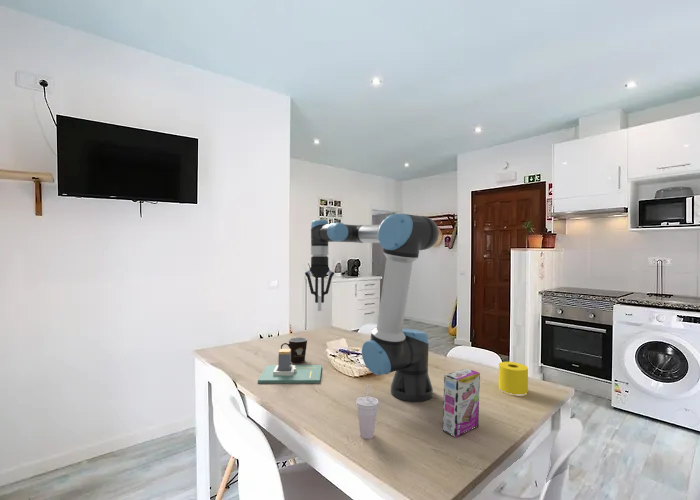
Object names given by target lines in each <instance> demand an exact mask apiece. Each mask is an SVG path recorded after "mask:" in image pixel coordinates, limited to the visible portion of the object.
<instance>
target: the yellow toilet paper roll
mask: <svg viewBox="0 0 700 500" xmlns="http://www.w3.org/2000/svg"><path fill="white" fill-rule="evenodd" d="M528 386H529V368H528V366H527V365H525V364H523V363H519V362H514V361H502V362H499V363H498V387H499V389H501V390H502V391H505V392H508V393H512V394H525V393H527V392H529V391H528V390H529V387H528ZM499 389H498V390H499Z"/></svg>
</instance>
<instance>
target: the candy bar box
mask: <svg viewBox="0 0 700 500" xmlns="http://www.w3.org/2000/svg"><path fill="white" fill-rule="evenodd" d="M443 378H444V379H443V405H442V409H443V410H442V431H443V430H444V431H446V432H448V433H449V434H448V433H447V434H448V435H450V434H452V435H453V436H455V437H454V438H458V437H460V436H462V435H463V434H462V433H464V432H466V431H468V430H470V431H472V430H473V429H472V428H474V427H476V426H478V427H479V423H480V422H479V417H480V413H479V412H480V387H481V386H480V382H481V380H480V379H481V373H480V372H478V371H475V370H473V369H470V368H464V369H460V370H457V371H453V372H451V373H446V374H443ZM471 429H472V430H471ZM444 431H443V432H444ZM446 432H445V433H446ZM468 432H469V431H468ZM466 433H467V432H466ZM461 434H462V435H461ZM464 434H465V433H464ZM452 435H451V436H452ZM459 435H460V436H459ZM453 436H452V437H453ZM457 436H458V437H457Z"/></svg>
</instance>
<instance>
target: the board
mask: <svg viewBox="0 0 700 500" xmlns="http://www.w3.org/2000/svg"><path fill="white" fill-rule="evenodd" d="M321 377H322V364H302V365H301V364H294V365H293V364H291V371H278V364H266V366H265V368H264V369H263V371H262V373H261V374H260V376H259V377H258V379H257V384H320V383H321Z"/></svg>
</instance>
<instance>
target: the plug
mask: <svg viewBox="0 0 700 500" xmlns="http://www.w3.org/2000/svg"><path fill="white" fill-rule="evenodd" d="M277 363H278V364H277V365H278V371H291V365H292V362H291V349H290V348H282V349H281V348H280V349H279V350H278V361H277Z"/></svg>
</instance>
